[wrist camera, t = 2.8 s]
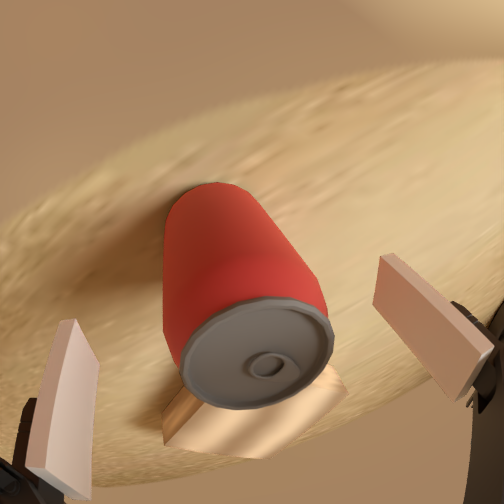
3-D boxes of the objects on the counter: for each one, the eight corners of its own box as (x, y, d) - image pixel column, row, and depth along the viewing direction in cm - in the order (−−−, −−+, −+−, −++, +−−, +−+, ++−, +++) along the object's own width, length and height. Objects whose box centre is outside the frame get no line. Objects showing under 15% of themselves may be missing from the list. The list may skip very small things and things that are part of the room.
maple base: (333, 365, 31) (349, 393, 27) (261, 432, 34) (269, 459, 31) (227, 330, 25) (237, 366, 21) (161, 413, 28) (163, 445, 25)
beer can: (223, 286, 23) (268, 429, 13) (145, 241, 20) (130, 390, 10) (282, 216, 21) (379, 332, 11) (204, 159, 18) (248, 246, 8)
